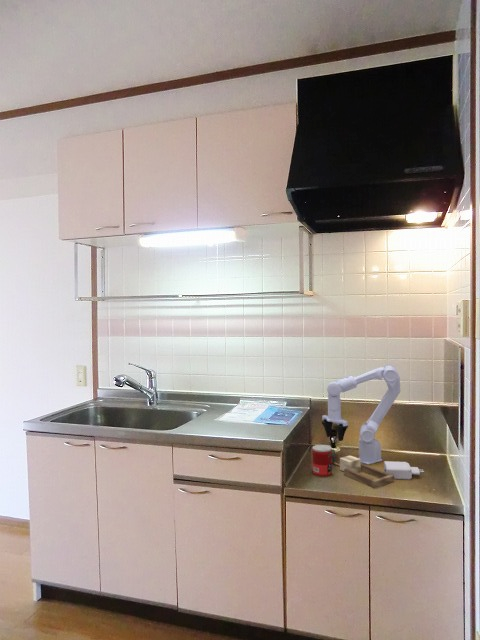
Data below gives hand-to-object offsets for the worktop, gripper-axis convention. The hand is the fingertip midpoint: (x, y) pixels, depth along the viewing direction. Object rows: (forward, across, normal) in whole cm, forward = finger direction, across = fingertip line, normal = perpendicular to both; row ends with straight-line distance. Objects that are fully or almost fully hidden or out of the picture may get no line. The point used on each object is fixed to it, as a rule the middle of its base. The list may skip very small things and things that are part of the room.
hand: (334, 438), depth 212 cm
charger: (+10, +31, +9) cm, 34 cm away
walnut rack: (+9, +24, -5) cm, 26 cm away
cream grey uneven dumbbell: (+9, +10, -5) cm, 14 cm away
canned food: (+10, +10, -16) cm, 21 cm away
